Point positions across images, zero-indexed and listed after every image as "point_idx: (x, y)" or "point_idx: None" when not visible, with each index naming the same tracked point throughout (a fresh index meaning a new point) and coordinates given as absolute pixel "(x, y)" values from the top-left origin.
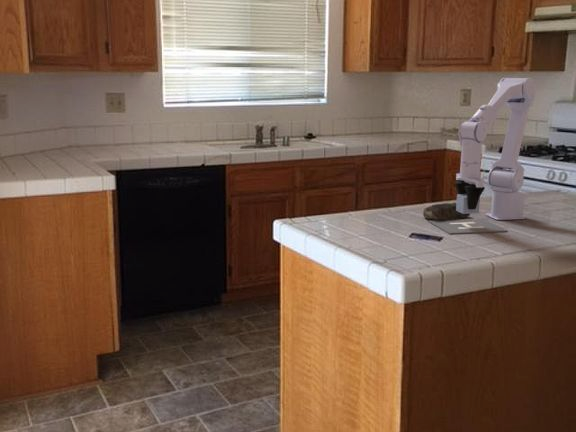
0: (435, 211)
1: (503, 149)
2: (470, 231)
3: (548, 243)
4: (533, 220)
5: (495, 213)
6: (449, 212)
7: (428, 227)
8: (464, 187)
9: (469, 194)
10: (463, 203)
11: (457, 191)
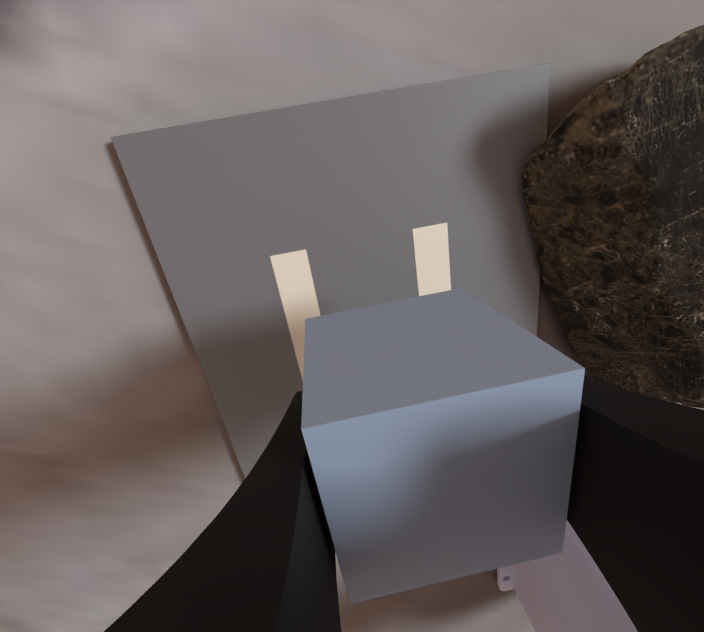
0: (603, 112)
1: None
2: (195, 312)
3: (43, 602)
4: (476, 604)
5: None
6: (602, 263)
7: (354, 4)
8: (687, 575)
9: (185, 557)
10: (310, 370)
11: (686, 408)
